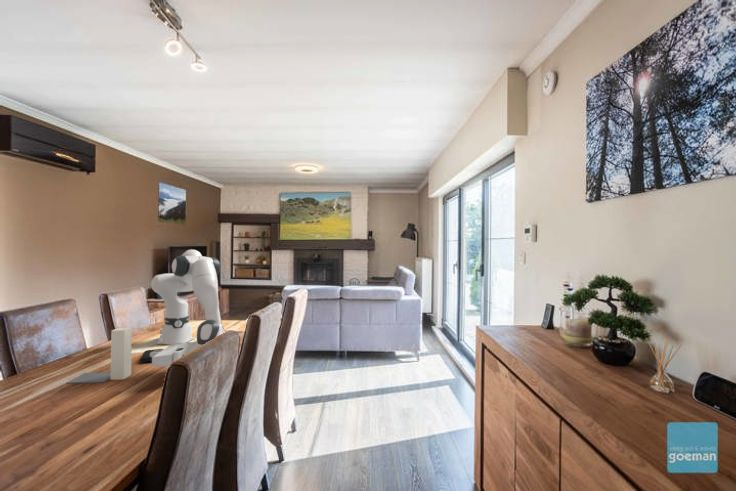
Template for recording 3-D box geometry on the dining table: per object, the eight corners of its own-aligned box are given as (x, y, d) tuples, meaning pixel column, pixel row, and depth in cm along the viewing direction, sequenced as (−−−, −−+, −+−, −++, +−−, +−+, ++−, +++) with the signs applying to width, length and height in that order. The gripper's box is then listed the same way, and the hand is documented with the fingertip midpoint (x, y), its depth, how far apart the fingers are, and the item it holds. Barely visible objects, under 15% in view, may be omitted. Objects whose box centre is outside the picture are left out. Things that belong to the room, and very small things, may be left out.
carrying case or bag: (166, 361, 159) (168, 353, 172) (166, 355, 159) (168, 347, 172) (139, 365, 154) (143, 355, 167) (139, 358, 154) (143, 349, 167)
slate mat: (66, 383, 132) (66, 382, 132) (84, 373, 142) (84, 372, 142) (103, 382, 134) (103, 381, 134) (119, 372, 144) (119, 372, 144)
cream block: (110, 379, 136) (111, 330, 136) (118, 375, 141) (119, 327, 141) (123, 379, 137) (124, 330, 137) (130, 374, 142) (131, 327, 142)
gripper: (196, 338, 153) (163, 339, 151) (175, 353, 132) (138, 353, 131) (195, 352, 153) (163, 353, 151) (175, 369, 132) (137, 370, 131)
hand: (151, 353), depth 141 cm, fingers closed
